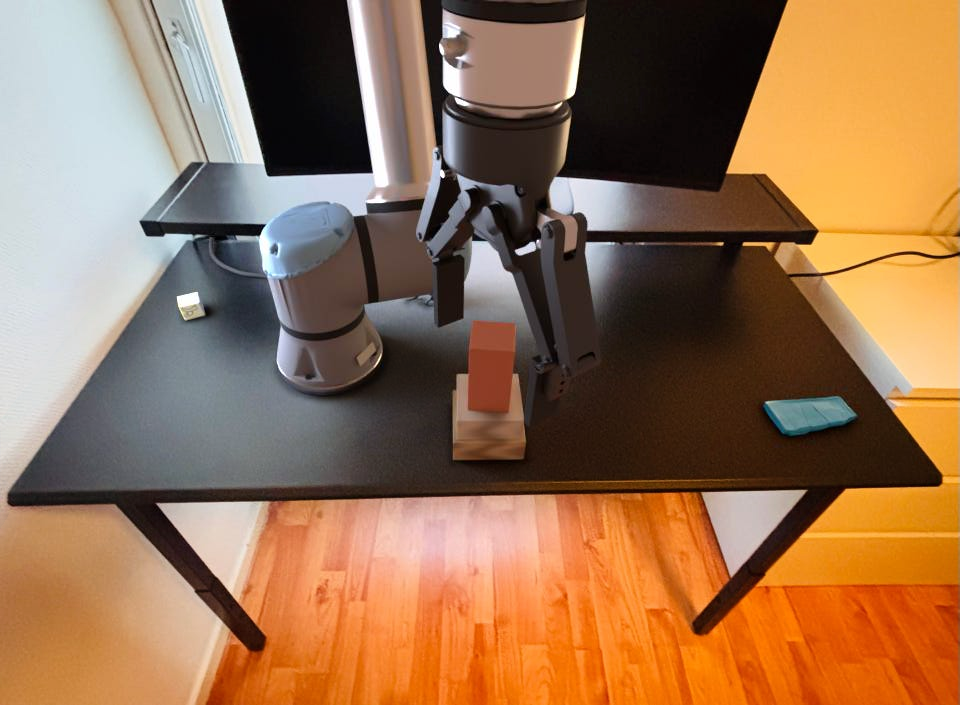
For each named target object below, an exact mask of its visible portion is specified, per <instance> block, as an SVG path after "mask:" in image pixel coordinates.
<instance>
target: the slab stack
mask: <svg viewBox="0 0 960 705" xmlns="http://www.w3.org/2000/svg"><path fill="white" fill-rule="evenodd" d="M468 375H469V373H457V374H456V389H453V390H452V460H453V461H485V460H486V461H487V460H488V461H489V460H490V461H491V460H492V461H493V460H494V461H495V460H497V461H499V460H524V459H525V451H526V446H527V439H526V433H525V422H524V421H523V420H524V408H523V401H522V393H521V386H520V379H519V374H518V373H513V377H512V386H511V396H510V406H509V413H502V412H488V411H474V410H468Z"/></svg>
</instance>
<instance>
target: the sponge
mask: <svg viewBox="0 0 960 705" xmlns="http://www.w3.org/2000/svg"><path fill="white" fill-rule="evenodd" d="M763 408H764V409H765V412H766V414H767V415H768V416H769V418H770V419H771V420H772V421H773V423H774V424H775V426H776V427H777V429H778V430H779V431H780V432H781V434H782V435H787V436H790V437H792V436H800V435H806V434H809V433H810V432H817V431H821V430H826V429H827V428H832V427H839V426H840V427H841V426H844V425H846V424H847V423H851V421H853V420H855V419H856V418H857V417H858V415H857V414H856V412H855V411H854V410H853V409H852V408H851V407H849V405H848V404H847V403H846V402H845V401H844V399H843V398H842V397H840V396H828V397H816V398H799V399H781V400H771V401H770V400H768V401H764V403H763Z"/></svg>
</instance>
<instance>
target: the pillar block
mask: <svg viewBox="0 0 960 705" xmlns="http://www.w3.org/2000/svg"><path fill="white" fill-rule="evenodd" d="M471 322H472V323H471V330H470V340H469V346H468V347H469V349H468V374H469V375H468V410H474V411H488V412H502V413H509V406H510V396H511V386H512V377H513V374H514V365H515V356H516V334H517V333H516V332H517V330H516V328H517V324H516V322H502V321H490V320H476V319H475V320H472V321H471Z"/></svg>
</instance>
